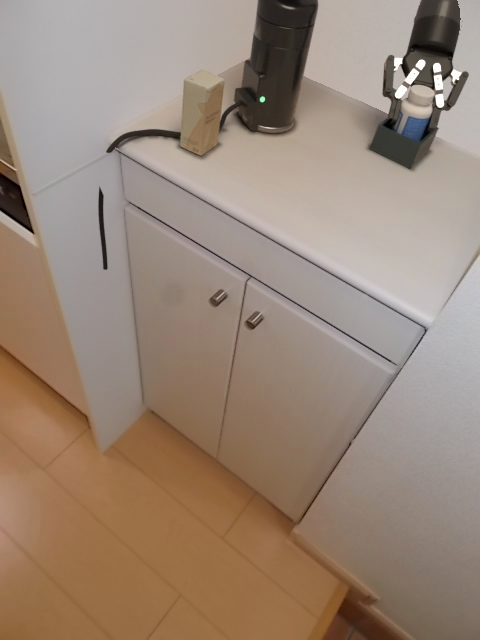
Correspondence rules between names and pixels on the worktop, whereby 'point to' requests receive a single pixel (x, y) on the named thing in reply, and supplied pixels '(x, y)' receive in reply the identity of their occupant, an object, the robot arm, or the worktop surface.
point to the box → (201, 111)
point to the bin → (400, 145)
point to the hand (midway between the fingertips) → (410, 127)
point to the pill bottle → (415, 112)
